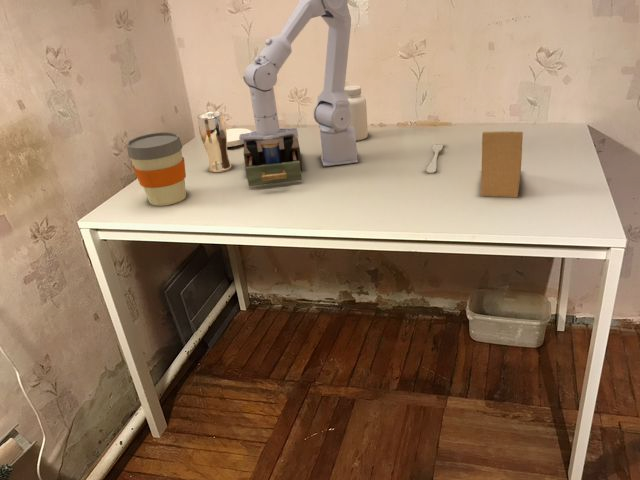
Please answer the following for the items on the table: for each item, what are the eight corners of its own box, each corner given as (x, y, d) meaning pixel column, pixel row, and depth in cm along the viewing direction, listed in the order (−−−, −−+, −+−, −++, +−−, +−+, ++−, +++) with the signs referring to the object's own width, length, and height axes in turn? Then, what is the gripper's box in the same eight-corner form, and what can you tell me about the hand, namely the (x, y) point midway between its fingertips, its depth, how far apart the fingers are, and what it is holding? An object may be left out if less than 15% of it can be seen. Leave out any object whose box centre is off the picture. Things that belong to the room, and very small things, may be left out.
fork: (425, 181, 148) (425, 171, 147) (435, 146, 164) (434, 137, 163) (436, 181, 148) (436, 171, 146) (445, 146, 164) (445, 137, 162)
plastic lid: (216, 153, 173) (215, 145, 172) (203, 142, 184) (201, 134, 182) (260, 143, 179) (259, 135, 177) (244, 133, 189) (243, 125, 188)
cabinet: (302, 170, 155) (299, 147, 152) (247, 177, 154) (243, 153, 150) (299, 154, 167) (296, 132, 163) (248, 160, 165) (244, 138, 162)
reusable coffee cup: (152, 190, 150) (136, 133, 143) (199, 187, 150) (186, 130, 142) (134, 210, 140) (116, 150, 132) (185, 207, 139) (170, 146, 131)
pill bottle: (368, 140, 173) (365, 89, 166) (341, 142, 174) (337, 91, 166) (368, 132, 180) (365, 83, 173) (342, 134, 181) (338, 85, 173)
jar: (283, 168, 152) (278, 138, 148) (283, 174, 148) (279, 143, 144) (265, 170, 152) (260, 140, 148) (265, 176, 148) (260, 145, 144)
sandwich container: (520, 172, 143) (524, 111, 135) (518, 197, 130) (523, 131, 122) (484, 171, 145) (486, 111, 137) (479, 196, 132) (482, 131, 125)
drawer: (303, 186, 143) (300, 167, 140) (248, 192, 142) (245, 174, 139) (299, 163, 157) (296, 146, 155) (249, 169, 156) (246, 152, 154)
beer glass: (227, 173, 158) (216, 118, 150) (203, 172, 159) (192, 118, 152) (237, 164, 163) (227, 111, 156) (214, 164, 165) (203, 111, 157)
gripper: (235, 122, 138) (245, 176, 145) (295, 115, 140) (302, 169, 146) (236, 114, 144) (245, 166, 151) (294, 108, 146) (301, 160, 152)
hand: (273, 167), depth 149 cm, fingers open, 6 cm apart
